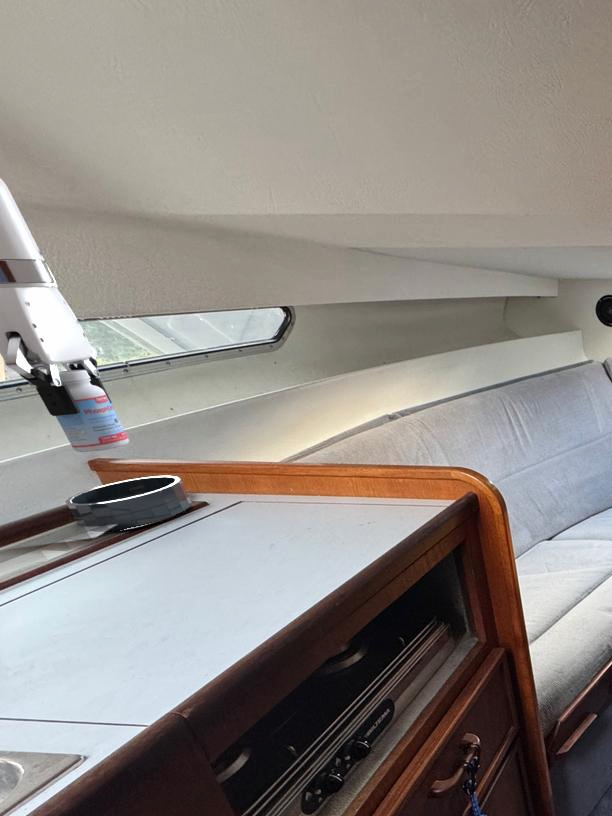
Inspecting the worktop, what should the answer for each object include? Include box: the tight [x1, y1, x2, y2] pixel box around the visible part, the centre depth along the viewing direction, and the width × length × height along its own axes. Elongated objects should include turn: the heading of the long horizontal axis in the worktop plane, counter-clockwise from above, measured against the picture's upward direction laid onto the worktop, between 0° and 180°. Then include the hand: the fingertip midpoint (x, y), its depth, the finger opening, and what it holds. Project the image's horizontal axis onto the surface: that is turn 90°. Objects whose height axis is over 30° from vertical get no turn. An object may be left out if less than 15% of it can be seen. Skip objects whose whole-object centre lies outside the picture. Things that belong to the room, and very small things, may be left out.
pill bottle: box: [45, 370, 130, 453], centre depth 84 cm, size 6×6×11 cm
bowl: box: [64, 475, 193, 534], centre depth 90 cm, size 13×13×5 cm
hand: (82, 408), depth 83 cm, fingers closed on pill bottle, 6 cm apart
